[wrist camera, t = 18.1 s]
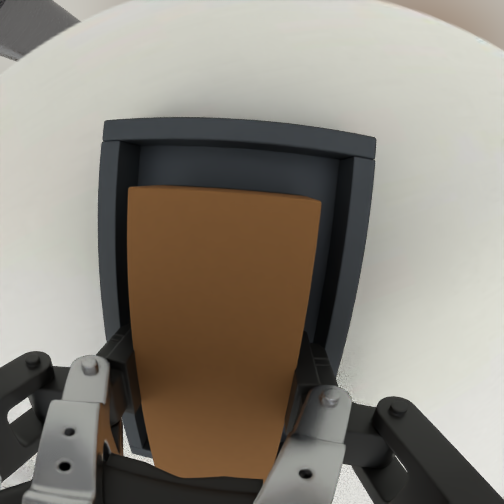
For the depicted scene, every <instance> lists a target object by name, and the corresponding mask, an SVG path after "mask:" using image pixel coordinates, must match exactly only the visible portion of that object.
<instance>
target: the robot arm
mask: <svg viewBox="0 0 504 504" xmlns="http://www.w3.org/2000/svg"><path fill="white" fill-rule="evenodd" d="M328 359H329V358H328V355H327V352H326V350H325V349H324V348H323V347H322V346H320V345H319V344H318V343H310V342H309V339H308V335H307V332H306V331H303V336H302V341H301V346H300V352H299V357H298V362H297V367H296V369H295V372H294V377H293V382H292V387H291V391H290V396H289V401H288V405H287V410H286V414H285V419H284V423H285V435H287V437H286V439H285V442H284V444H283V446H282V448H281V450H280V452H279V454H278V456H277V458H276V460H275V462H274V464H273V466H272V468H271V470H270V472H269V474H268V476H267V478H266V480H265V482H264V484H263V479H251V478H238V477H227V476H219V477H202V478H181V477H178V476H175V475H173V474H170V473H168V472H166V471H164V470H161V469H159V468H157V467H155V466H153V465H150V464H148V463H146V462H143V461H139V460H135V459H132V458H128V457H125V456H123V422H122V418H121V417H122V416H123V414H124V412H127V413H131V414H135V413H136V411H137V409H138V407H139V405H140V404H141V402H142V400H141V394H140V388H139V381H138V374H137V367H136V359H135V351H134V349H133V340H132V330H131V323H128V324H126V325H124V326H122V327H120V328H119V330H118V331H117V332H116V333H115V335H113V336H112V337H111V338H110V341H108V342H107V343H106V344H105V345H104V346H103V348H102V349H101V350H100V351H99V352H98V353H97V354H96V355H87V356H83V357H80V358H78V359H76V360H75V361H74V362H73V363H72V364H71V367H58V366H52V362H51V358H50V357H49V355H47V354H46V353H44V352H40V351H33V352H28V353H25V354H23V355H21V356H20V357H18V358H16V359H14V360H13V361H11V362H9V363H8V364H6V365H4V366H2V367H1V368H0V487H1V483H2V482H3V481H4V480H5V479H6V478H8V477H9V476H10V475H11V474H12V473H14V472H15V471H16V470H17V469H18V468H19V467H21V466H22V465H23V464H24V463H25V462H26V461H28V460H29V459H30V458H31V457H32V456H33V455H35V454H36V453H37V452H38V453H37V458H36V463H35V468H34V473H33V479H32V480H31V481H28V482H25V483H22V484H19V485H15V486H12V487H9V488H5V489H2V490H1V488H0V504H332V501H333V497H334V494H335V490H336V486H337V483H338V479H339V475H340V471H341V467H342V464H347V465H352V468H353V470H354V471H355V473H356V475H357V476H358V478H359V480H360V481H361V483H362V485H363V486H364V488H365V490H366V491H367V493H368V494H369V496H370V498H371V499H372V501H373V503H374V504H504V500H503V499H502V497H501V496H500V495H499V494H498V493H497V492H496V491H495V490H494V489H493V488H492V487H491V486H490V484H489V483H488V482H487V481H486V480H485V479H484V478H483V477H482V476H481V475H480V474H479V473H478V472H477V471H476V469H475V468H474V467H473V466H472V465H471V464H470V463H469V462H468V461H467V460H466V459H465V458H464V457H463V456H462V455H461V454H460V452H459V451H458V450H457V449H456V448H455V447H454V446H453V445H452V444H451V443H450V442H449V441H448V440H447V439H446V438H445V437H444V436H443V435H442V433H441V432H440V431H439V430H438V429H437V428H436V427H435V426H434V425H433V424H432V423H431V422H430V421H429V420H428V419H427V418H426V417H425V416H424V415H423V414H422V412H421V411H420V410H419V409H418V408H417V407H416V406H415V405H414V404H413V403H412V402H410V401H409V400H407V399H404V398H401V397H395V396H392V397H386V398H383V399H382V400H380V401H379V403H378V405H377V407H371V406H365V405H360V404H356V403H354V402H352V399H351V396H350V395H349V393H348V392H347V391H345V390H344V389H342V388H340V387H338V384H337V381H336V378H335V375H334V372H333V370H332V367H331V364H330V361H329V360H328ZM27 397H28V398H29V401H30V403H31V405H32V408H31V409H30V410H28V411H27V412H25V413H24V414H23V415H21V416H20V417H19V418H17V419H16V420H15V421H13V422H12V423H10V424H9V422H8V420H7V414H8V412H9V410H10V409H11V408H13V407H14V406H15V405H17V404H18V403H20V402H21V401H23V400H24V399H25V398H27ZM395 455H396V456H397V458H398V459H399V460H400V462H401V463H402V464H403V466H404V467H405V468H406V470H407V472H406V470H405V469H404V468H403V466H402V465H401V464H400V462H399V461H398V460H397V458H396V457H395Z"/></svg>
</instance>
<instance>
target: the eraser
mask: <svg viewBox="0 0 504 504" xmlns="http://www.w3.org/2000/svg"><path fill="white" fill-rule="evenodd" d="M321 204H322V203H321V201H319V200H316V199H313V198H310V197H307V196H303V195H299V194H289V193H279V192H269V191H258V190H247V189H234V188H220V187H205V186H188V185H151V186H136V187H129V189H128V210H127V263H128V289H129V305H130V319H131V330H132V340H133V349H134V351H135V359H136V367H137V374H138V381H139V388H140V394H141V400H142V402H141V404H142V410H143V415H144V421H145V426H146V430H147V435H148V440H149V444H150V449H151V453H152V457H153V461H154V465H155V467H157V468H159V469H161V470H164V471H166V472H168V473H170V474H173V475H175V476H178V477H181V478H202V477H219V476H227V477H238V478H251V479H263V484H264V482H265V480H266V478H267V476H268V474H269V472H270V470H271V468H272V466H273V464H274V462H275V460H276V456H277V452H278V448H279V444H280V440H281V436H282V432H283V427H284V419H285V414H286V410H287V405H288V401H289V396H290V391H291V387H292V382H293V377H294V372H295V369H296V367H297V362H298V357H299V352H300V346H301V341H302V336H303V330H304V324H305V318H306V312H307V306H308V300H309V294H310V288H311V281H312V274H313V267H314V260H315V253H316V245H317V238H318V230H319V221H320V213H321Z"/></svg>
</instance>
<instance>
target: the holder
mask: <svg viewBox="0 0 504 504" xmlns="http://www.w3.org/2000/svg"><path fill="white" fill-rule="evenodd" d="M375 153H376V138H375V137H371V136H366V135H361V134H356V133H350V132H345V131H339V130H333V129H327V128H320V127H313V126H306V125H298V124H290V123H281V122H271V121H260V120H247V119H230V118H205V117H158V118H133V119H117V120H107V121H105V122H104V130H103V142H102V145H101V156H100V170H99V189H98V254H99V273H100V287H101V299H102V309H103V318H104V326H105V333H106V340H107V342H108V341H110V338H111V337H112V336H113V335H115V333H116V332H117V331H118V330H119V328H120V327H122V326H124V325H126V324H128V323H131V319H130V305H129V289H128V263H127V210H128V189H129V187H136V186H151V185H188V186H205V187H220V188H234V189H247V190H258V191H269V192H279V193H289V194H299V195H303V196H307V197H310V198H313V199H316V200H319V201H321V203H322V204H321V213H320V221H319V230H318V238H317V245H316V253H315V260H314V267H313V274H312V281H311V288H310V294H309V300H308V306H307V312H306V318H305V324H304V330H303V331H306V332H307V335H308V339H309V342H310V343H318V344H319V345H320V346H322V347H323V348H324V349H325V350H326V352H327V355H328V358H329V359H328V360H329V361H330V364H331V367H332V370H333V372H334V375H335V378H336V375H337V372H338V368H339V365H340V361H341V357H342V353H343V350H344V346H345V342H346V338H347V334H348V329H349V325H350V321H351V317H352V312H353V307H354V303H355V298H356V293H357V288H358V283H359V278H360V273H361V267H362V261H363V256H364V249H365V243H366V237H367V230H368V223H369V215H370V208H371V199H372V190H373V180H374V170H375V160H373V159H375ZM122 420H123V424H124V428H125V431H126V435H127V439H128V442H129V445H130V448H131V451H132V453H133V454H137V455H141V456H145V457H149V458H153V457H152V453H151V449H150V444H149V440H148V435H147V430H146V426H145V421H144V415H143V410H142V404H140V405H139V407H138V409H137V411H136V413H135V414H131V413H127V412H124V414H123V416H122ZM286 437H287V435H285V423H284V427H283V432H282V436H281V440H280V444H279V448H278V452H277V456H278V454H279V452H280V450H281V448H282V446H283V444H284V442H285V439H286ZM277 456H276V458H277Z"/></svg>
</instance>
